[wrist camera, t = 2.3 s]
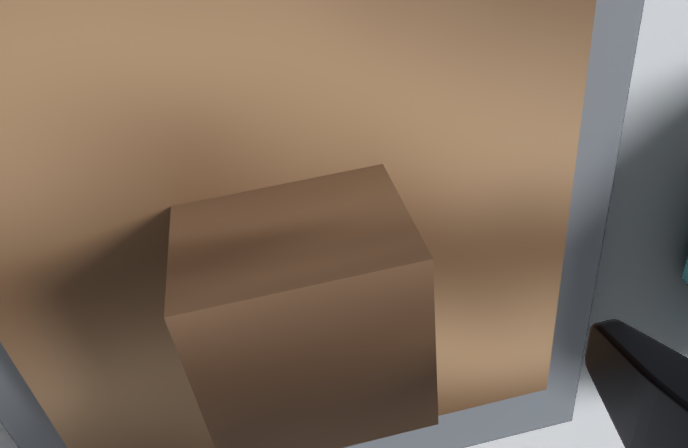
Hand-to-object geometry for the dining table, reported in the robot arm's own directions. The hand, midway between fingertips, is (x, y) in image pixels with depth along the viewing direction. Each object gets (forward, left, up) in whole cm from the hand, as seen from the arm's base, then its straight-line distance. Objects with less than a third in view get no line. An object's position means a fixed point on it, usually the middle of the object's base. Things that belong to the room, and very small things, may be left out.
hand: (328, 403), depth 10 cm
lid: (0, 0, -4) cm, 4 cm away
